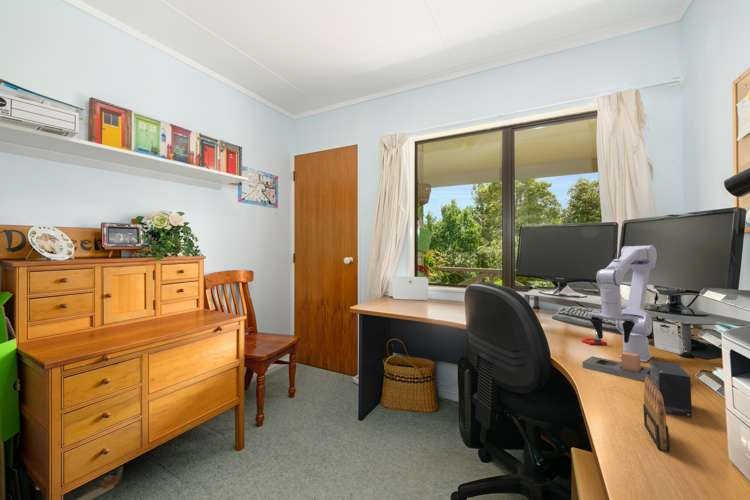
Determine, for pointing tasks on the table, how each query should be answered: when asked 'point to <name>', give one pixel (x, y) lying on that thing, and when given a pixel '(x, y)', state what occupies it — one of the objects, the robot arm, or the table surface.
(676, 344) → the ink box
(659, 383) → the small box
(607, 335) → the table surface
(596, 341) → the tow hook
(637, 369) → the peg
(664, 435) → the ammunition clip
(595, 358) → the grey slotted board
